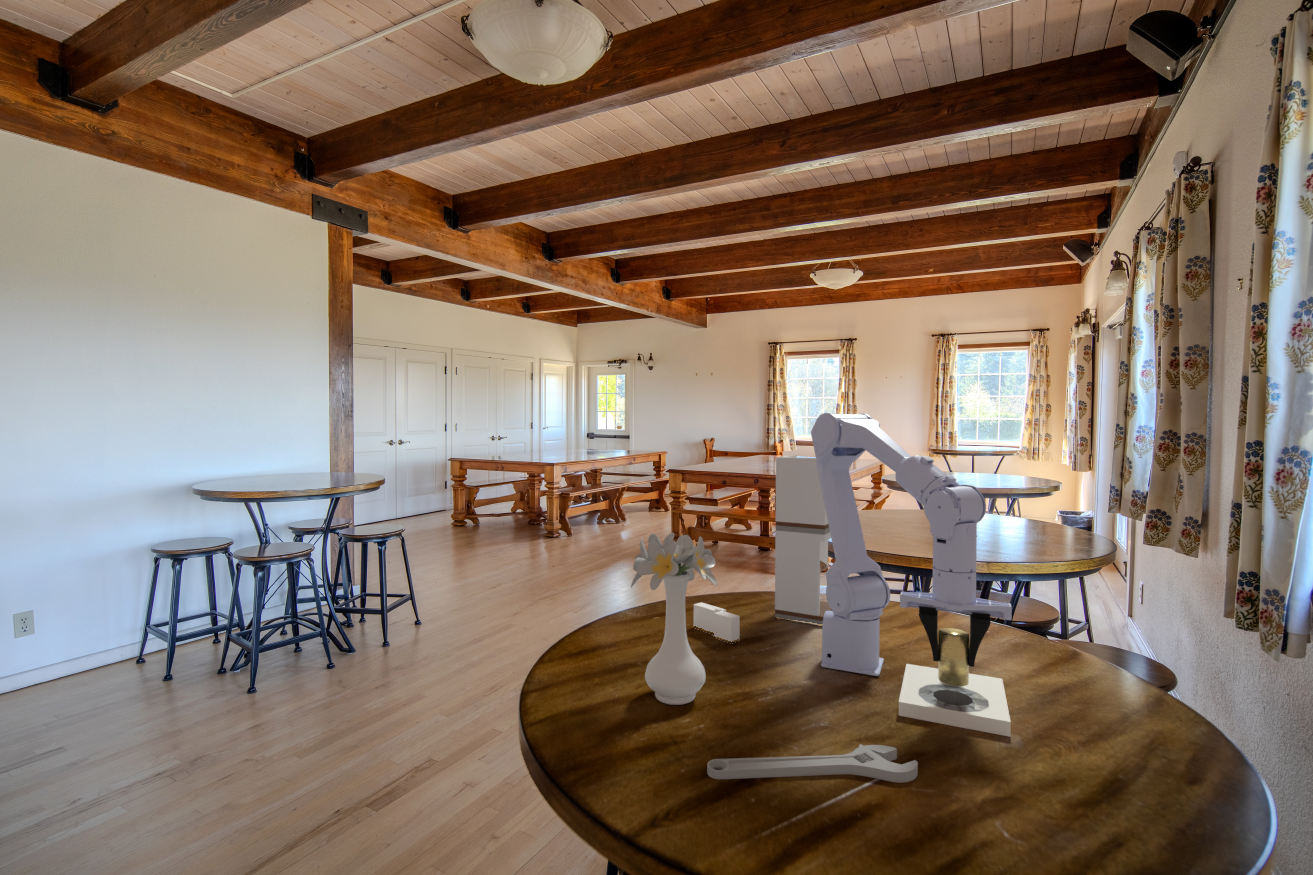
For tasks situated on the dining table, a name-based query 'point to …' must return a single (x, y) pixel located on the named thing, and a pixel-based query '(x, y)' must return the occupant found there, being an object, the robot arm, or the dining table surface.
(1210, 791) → the dining table surface
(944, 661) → the brass cylinder
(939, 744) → the dining table surface
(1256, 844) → the dining table surface
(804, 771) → the adjustable wrench
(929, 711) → the board
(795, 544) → the white stacked column
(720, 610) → the napkin holder
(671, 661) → the flower vase
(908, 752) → the dining table surface
